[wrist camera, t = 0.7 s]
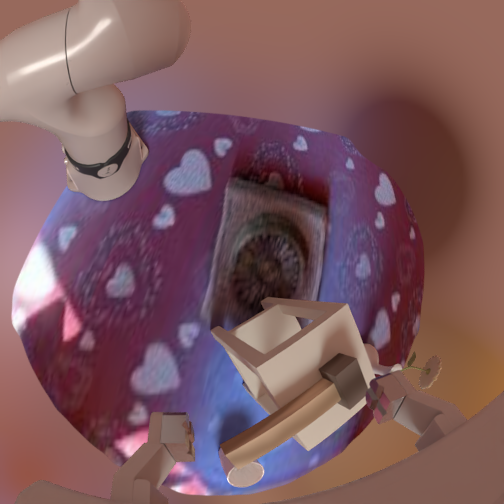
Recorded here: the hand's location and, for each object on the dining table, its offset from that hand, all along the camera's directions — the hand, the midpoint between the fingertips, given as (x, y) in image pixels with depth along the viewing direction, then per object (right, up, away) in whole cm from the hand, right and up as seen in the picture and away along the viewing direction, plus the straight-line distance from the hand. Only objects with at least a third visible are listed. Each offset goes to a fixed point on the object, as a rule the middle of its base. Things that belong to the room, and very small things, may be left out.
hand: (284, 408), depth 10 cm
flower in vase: (+27, -22, +54) cm, 64 cm away
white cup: (-6, -40, +40) cm, 56 cm away
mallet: (+3, -13, +18) cm, 23 cm away
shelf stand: (0, -13, +45) cm, 47 cm away
